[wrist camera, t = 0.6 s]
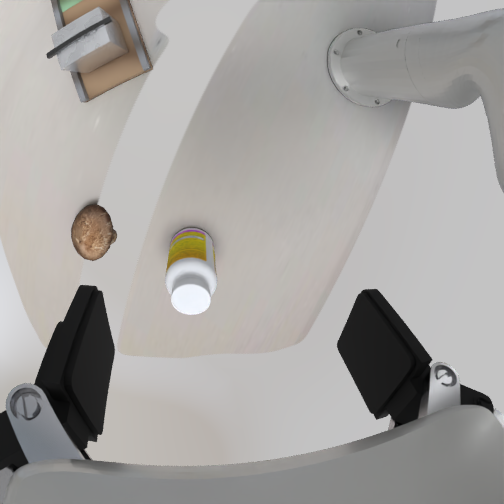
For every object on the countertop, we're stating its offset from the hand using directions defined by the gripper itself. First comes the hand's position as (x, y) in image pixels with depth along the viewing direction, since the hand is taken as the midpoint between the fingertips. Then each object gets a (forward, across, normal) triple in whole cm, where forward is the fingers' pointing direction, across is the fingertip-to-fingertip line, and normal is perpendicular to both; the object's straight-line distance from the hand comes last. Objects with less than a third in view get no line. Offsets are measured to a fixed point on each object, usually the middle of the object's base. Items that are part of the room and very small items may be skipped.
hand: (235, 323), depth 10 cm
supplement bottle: (+32, +1, +14) cm, 35 cm away
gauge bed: (+32, +18, -20) cm, 42 cm away
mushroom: (+32, +16, +11) cm, 38 cm away
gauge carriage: (+30, +15, -15) cm, 37 cm away
